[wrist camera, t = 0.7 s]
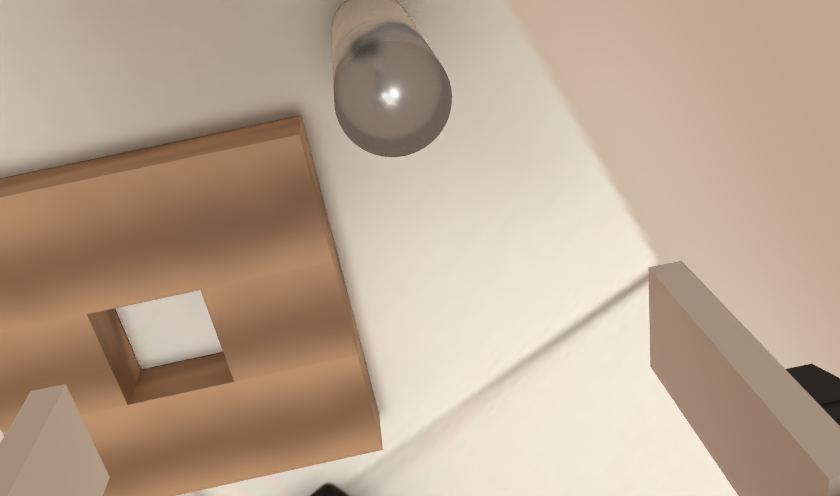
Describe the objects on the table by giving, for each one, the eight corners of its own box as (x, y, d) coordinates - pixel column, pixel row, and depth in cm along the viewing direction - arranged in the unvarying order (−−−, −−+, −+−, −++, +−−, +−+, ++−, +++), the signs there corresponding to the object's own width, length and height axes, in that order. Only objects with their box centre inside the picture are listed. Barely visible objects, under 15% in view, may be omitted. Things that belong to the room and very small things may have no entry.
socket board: (-82, 195, 34) (-116, 221, 31) (301, 115, 34) (299, 134, 32) (70, 482, 42) (53, 522, 39) (379, 414, 42) (382, 449, 40)
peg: (322, 0, 32) (322, 54, 22) (403, -16, 32) (441, 29, 22) (341, 80, 34) (348, 167, 23) (417, 65, 34) (460, 143, 23)
